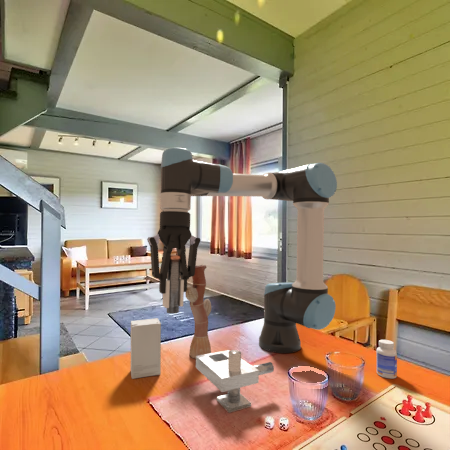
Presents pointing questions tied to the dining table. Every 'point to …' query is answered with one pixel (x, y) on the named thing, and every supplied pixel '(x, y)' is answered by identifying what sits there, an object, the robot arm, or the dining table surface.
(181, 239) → the robot arm
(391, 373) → the pill bottle
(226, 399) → the square pedestal tray
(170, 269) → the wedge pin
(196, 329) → the tan tall irregular piece
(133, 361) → the skincare box
